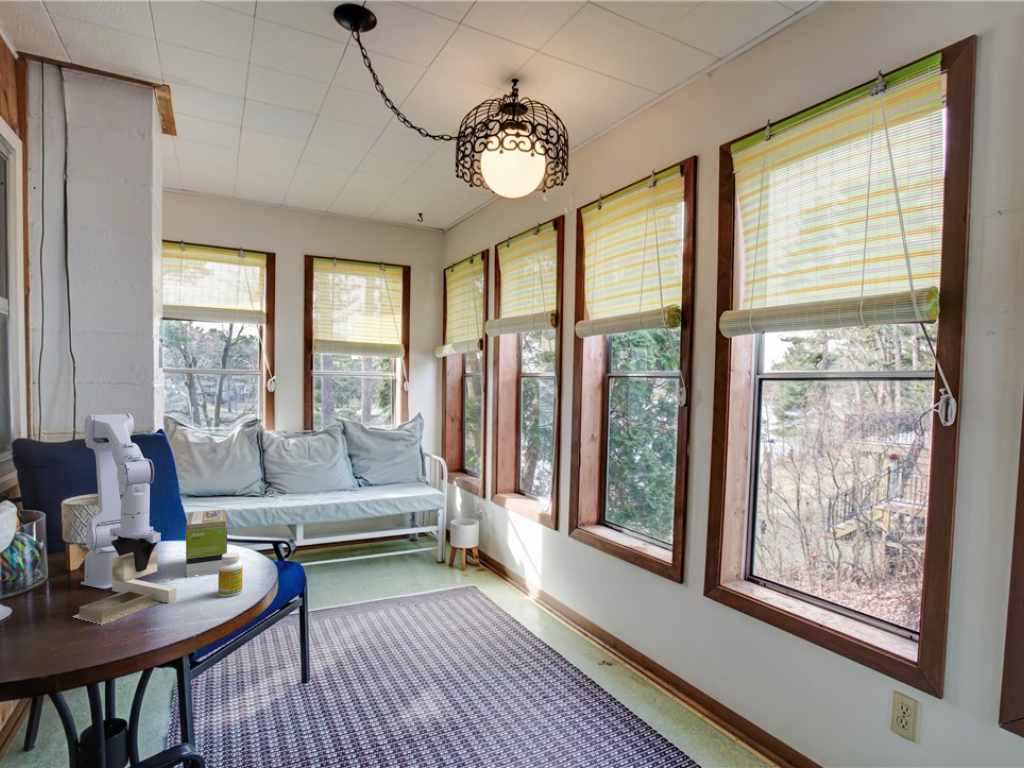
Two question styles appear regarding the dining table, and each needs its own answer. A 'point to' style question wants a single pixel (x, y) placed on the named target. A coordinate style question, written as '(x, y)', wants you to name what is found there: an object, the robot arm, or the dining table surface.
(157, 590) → the board
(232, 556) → the supplement bottle
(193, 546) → the tea box
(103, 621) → the keeper
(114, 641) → the dining table surface
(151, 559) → the bar
